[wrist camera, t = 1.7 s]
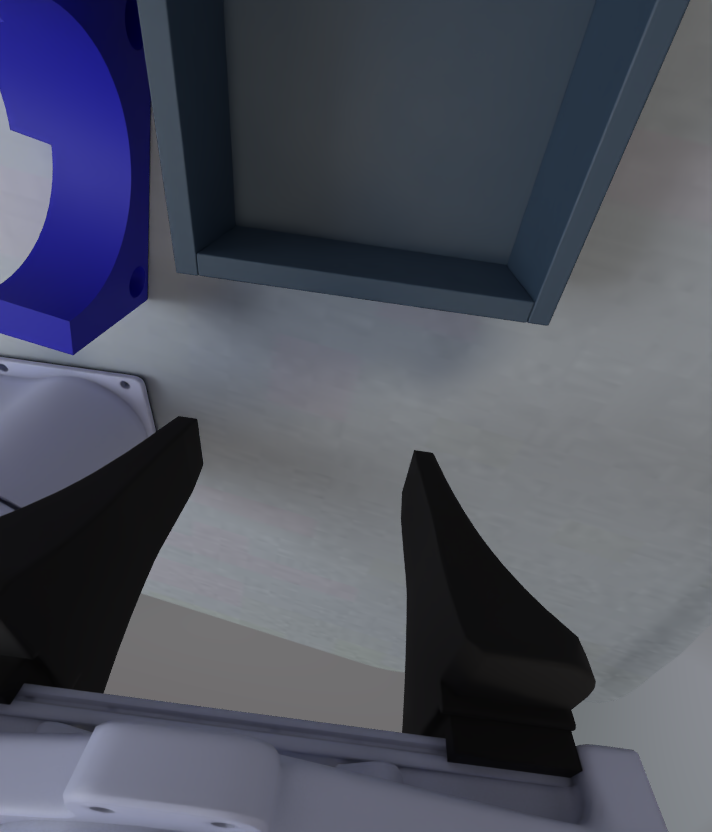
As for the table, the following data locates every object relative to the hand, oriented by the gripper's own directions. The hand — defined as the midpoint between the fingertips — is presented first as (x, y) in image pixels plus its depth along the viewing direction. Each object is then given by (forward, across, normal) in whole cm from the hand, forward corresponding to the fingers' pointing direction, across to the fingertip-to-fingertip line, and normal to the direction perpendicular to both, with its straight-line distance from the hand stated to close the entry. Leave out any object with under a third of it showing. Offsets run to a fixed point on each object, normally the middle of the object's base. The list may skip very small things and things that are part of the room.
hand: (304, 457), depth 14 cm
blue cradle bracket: (+10, +11, -7) cm, 16 cm away
